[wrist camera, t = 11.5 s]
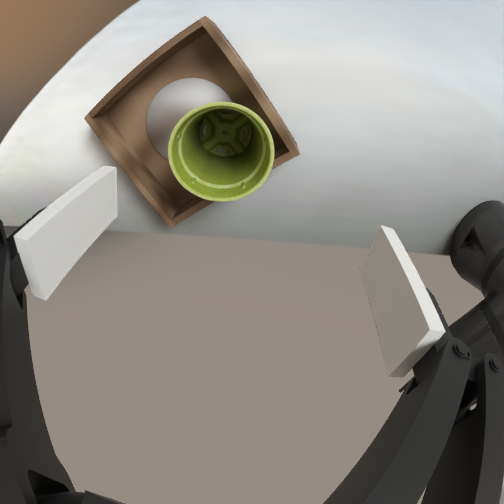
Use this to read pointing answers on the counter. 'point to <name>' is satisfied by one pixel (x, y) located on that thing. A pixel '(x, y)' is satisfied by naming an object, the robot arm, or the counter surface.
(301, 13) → the counter surface
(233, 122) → the plant pot
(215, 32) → the brown wooden square tray
